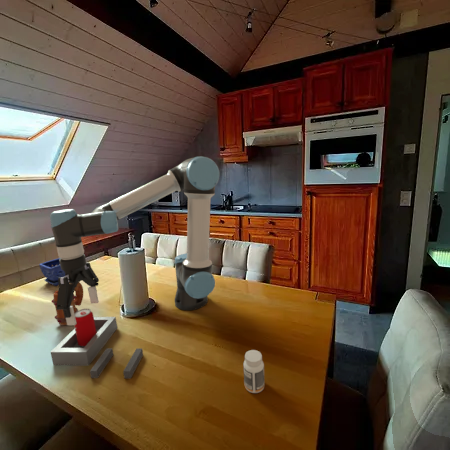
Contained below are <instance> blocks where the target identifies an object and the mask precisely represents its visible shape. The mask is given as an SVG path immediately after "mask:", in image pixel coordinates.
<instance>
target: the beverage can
mask: <svg viewBox="0 0 450 450" xmlns="http://www.w3.org/2000/svg"><path fill="white" fill-rule="evenodd" d="M94 317H95V316H94V313H93V311H91V309H90V308H83V309H80V310H79V309H78V311H77V312H76V313H75V319H76V323H77V324H76V325H73V326H74V329H75V331H76V336H77V341H78V345H79V346H83V347H85V346H86V345H87V344H88V342H89V341H90V340H91V339H92V338H93V337H94V336H95V334H96V328H95V322H94Z"/></svg>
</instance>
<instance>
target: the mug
mask: <svg viewBox="0 0 450 450" xmlns="http://www.w3.org/2000/svg"><path fill="white" fill-rule="evenodd" d="M74 293H75V294H73V298H72V302H71V306H73V310H74V314H75V313H76V312H77V311H79V309H78V308H77V306H78V307H79V306H81V305H82V302H83V299H84V287H83V285H82V283H80V282H79V283H78V284H77V286H76V287H75V290H74ZM52 294H53V295H52V296H53V299H52V300H50V301H51V303H52V304H53V305H54V306H55V311H56V315H54V319H56V321H57V323H58V324H59V325H60V326H68V325H67V322H66V318H65V317H64V313H63V310H57V309H56V307H57V297H58V290H55V291H54V293H52Z"/></svg>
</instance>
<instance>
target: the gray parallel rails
mask: <svg viewBox="0 0 450 450" xmlns="http://www.w3.org/2000/svg"><path fill="white" fill-rule="evenodd" d="M113 356H114V351H113V348H112V347H111V348H110V347H109V348H107V347H106V349H105V350H104V351H103V353H102V354H101V355H100V357H98V359H97V361H96V362H95V363H94V365H93V366H92V368H91V369H90V370H89V373H90V374H89V375H90V379H98V378H99V377H100V375H101V374H102V372H103V371H104V369H105V368H106V366H107V365H108V364H109V362H110V360H111V359H112V357H113ZM143 356H144V351H143V348H141V347H139V348H138V347H137V348H136V349H135V350H134V352H133V354H132V355H131V357H130V359H129V361H128V362H127V364H126V366H125V368H124V369H123V371H122V373H123V378H124V379H132V377H133V375H134V373H135V371H136V369H137V367H138V366H139V364H140V361H141V360H142V358H143Z"/></svg>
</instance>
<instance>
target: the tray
mask: <svg viewBox="0 0 450 450" xmlns="http://www.w3.org/2000/svg"><path fill="white" fill-rule="evenodd" d="M93 317H94V322H95V328H96V334H95V336H94V337H93V338H92V339H91V340H90V341H89V342H88V344H87V345H86V346H85V347H83V346H79V345H78V341H77V336H76V331H75V328H74V329H72V331H70V332H69V334H67V335H66V336H65V337H64V338H63V339H62V340H60V342H59V343H58V344H57V345H56V346H55V347H54V348H53V349H51V351H50V355H51V361H52V364H53V366H77V367H78V366H81V367H82V366H85V367H86V366H90V365H91V363H92V362H93V361H94V359H95V358H96V357H97V355H98V354H99V353H100V351H101V350H102V349H103V347H104V346H105V345H106V343H107V342H108V341H109V340H110V338H112V336H113V335H114V333H115V332H116V331H117V330H118V323H117V317H116V316H93Z"/></svg>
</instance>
